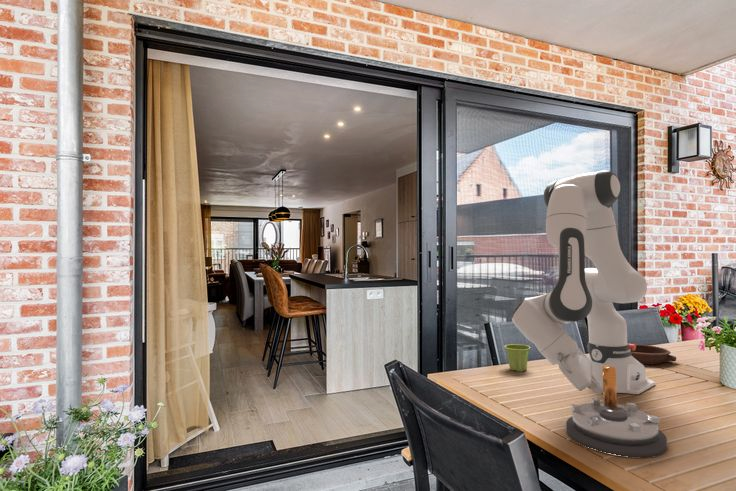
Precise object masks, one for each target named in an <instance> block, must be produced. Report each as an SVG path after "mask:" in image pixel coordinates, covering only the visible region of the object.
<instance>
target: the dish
mask: <svg viewBox="0 0 736 491" xmlns="http://www.w3.org/2000/svg"><path fill="white" fill-rule="evenodd" d="M635 347H636V350H634V351H633V350H631V354H632V355H631V356H633V357H634V358H635V359H636V360H637V361H638V362H640V363H641V364H642V365H660V364H663V363H665V362H676V361H677V356H675V355H671V353H672V352H671V351H670V350H668V349H666V348H663V347H659V346H655V345H647V344H635Z"/></svg>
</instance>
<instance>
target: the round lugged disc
mask: <svg viewBox="0 0 736 491" xmlns="http://www.w3.org/2000/svg"><path fill="white" fill-rule="evenodd" d="M602 370H603V392H602V393H603V402H601V400H600V399H599V398H597V397H590V400H589V401H590V402H585V403H581V404H570V410H571V412H572V416H573V425H574V427H575V428H576V429H577V430H578V431H580V432H581V433H583V434H585V435H587V436H589V437H592V438H595V439H598V440H601V441H605V442H609V443H614V444H621V445H647V444H651V443H654V442H655V441H657V440H658V438H659V434H658V429H659V424H660V423H661V422H660V417H659V416H657V415H651V414H649V413H647V412H645V411H643V410H640V409H638V405H637V404H636V403H634V402H626V405H623V404H618V393H617V388H616V368H615V367H613V366H602Z"/></svg>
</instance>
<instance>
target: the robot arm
mask: <svg viewBox="0 0 736 491" xmlns="http://www.w3.org/2000/svg"><path fill="white" fill-rule="evenodd" d="M620 193H621V183H620V180H619V178H618V175H616V173H615V172H613V171H612V170H599V171H595V172H594V171H593V172H586V173H582V174H581V173H580V174H577V175H574V176H571V177H567V178H563V179H560V180H558V179H556V180H554V181H552V182H550V183H548V185H547V186H546V187H545V189H544V192H543V200H544V204H545V206H546V208H547V210H546V215H545V216H546V217H545V235H546V240H547V242H548V243H549V245H551V246H552V247H554V248H556V249H557V252H558V269H557V270H558V275H557V276H558V278H557V282H556V284H555V286H554V288H553V289H552V290H551V291H550V292H547V293H544V294H540V295H536V296H532V297H531V296H530V297H524V298H522V299H521V300H520V301H519V303H518V304H516V306H515V308H514V309H513V311H512V312H511V315H510V316H511V320H512V322H513V324H514V325H515V327H516V328H517V329H518V330H519V332H520V333H521V334H522V335H523V336H524V337H525V338H526V339H527V340H528V341H529V342H530V343H532V344H534V346H535V347H536V349H537V351H538V352H539V353H540V354H541V355H542V356H543V357H544V358H545V359H546V360H547V361H548V363H550V364H551V366H555V365H558V369H559V370H560V372H561V374H563V375H564V377H565V378H566V379H567V380H568V381H569V383H571V385H573V387H574V388H576V390H578V391H580V392H583V391H584V390H586V389H587V388H588V387H589V388H590V389H591V390H593V392H595V393H596V395H600V394H602V393H603V370H602V366H613V367H615V368H616V388H617V394H632V395H640V394H641V393H643V392H645V391H647V390H648V389H650V388H652V387H654V386H655V385H656V382H655V381H654V380H652V379H650V378H647V373H646V368H645V365H644V364H641V363H640V362H638V361H637V360H636V359H635V358H634V357H633V356H631V355H632V354H631V350H633V351H634V350H636V347H635V344H634V343H628V328H627V326H628V325H627V320H626V319H625V318H624V317H623V316H622V315H621V314H620V313H619V312H618V311H617V310H616V307H615V306H614V303H616V304H630V303H631V304H632V303H638V302H640V301H642V300H643V299H644V297H645V295H646V294H647V290H648V284H647V280H646V279H645V277H644V275H643V274H642V273H640V272H639V271H637V270H636V269H635V268H634V267H633V266H631V264H630V263H629V262H628V260H627V258H626V257H625V255H624V253H623V251H622V249H621V245H620V241H619V240H620V239H619V236H618V230H617V225H616V220H615V219H616V218H615V215H614V212H613V208H612V206H613V204H614V203H616V202H617V200H618V198H619V197H620V195H621V194H620ZM585 257H586V258H588V259H589V260H590V261H591V262H592V263H593V265H594V267H586V265H585V264H586V263H585V262H586V258H585ZM585 318H586V319H587V328H588V330H587V331H588V342H587V353H588V355H587V356H586V354H585V352H583V350H582V349H581V348H580V347H579V346H578V343H577V342H576V340H575V339H574V338H573V337H572V336H570V335H569V334H568V333H567V332H566V331H565V330H564V329H563V327H564V325H567V324H570V323H572V322H580V321H582V320H584V319H585Z"/></svg>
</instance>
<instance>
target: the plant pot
mask: <svg viewBox="0 0 736 491" xmlns="http://www.w3.org/2000/svg"><path fill="white" fill-rule="evenodd" d="M504 348H505V351H506V355H507V360H508V365H509V370H511V371H516V372H525V371H527V369H528V361H529V359H528V357H529V353H530V349H531V347H530V345H525V344H520V343H518V344H516V343H515V344H513V343H512V344H511V343H510V344H505V345H504Z"/></svg>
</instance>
